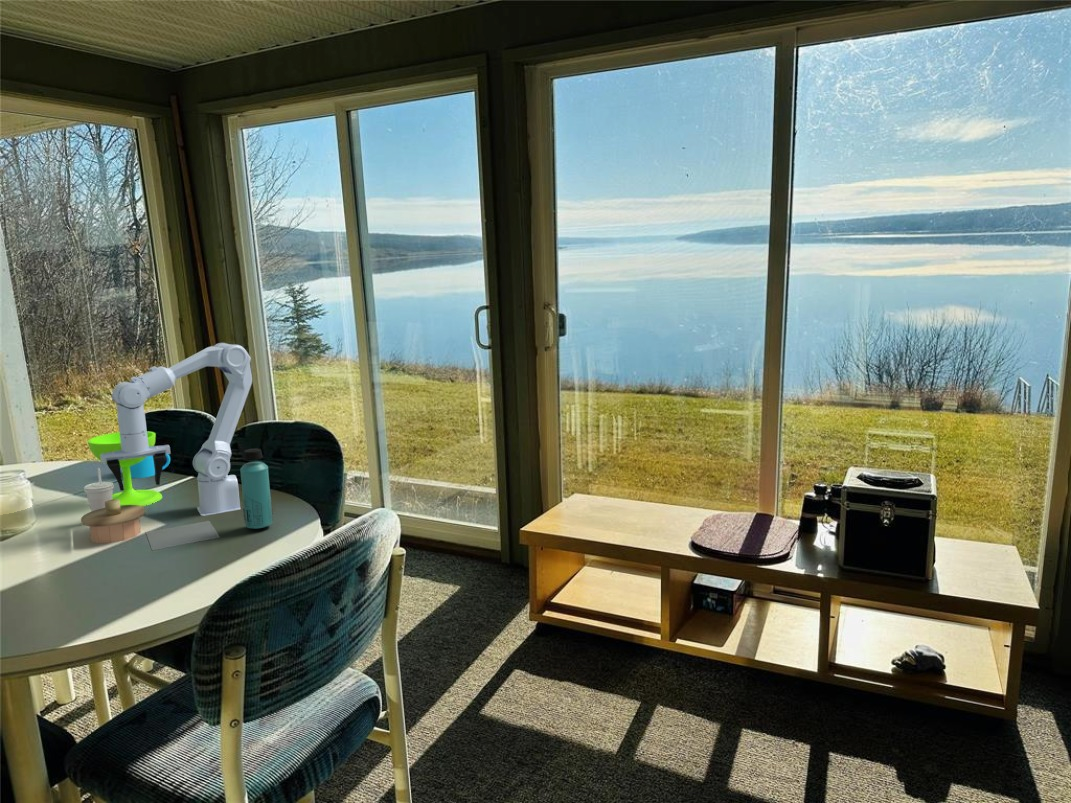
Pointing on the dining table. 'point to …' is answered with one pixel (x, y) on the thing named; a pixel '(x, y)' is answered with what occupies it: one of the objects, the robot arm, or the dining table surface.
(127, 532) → the bowl
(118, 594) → the dining table surface
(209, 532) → the mat
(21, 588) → the dining table surface
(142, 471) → the mug
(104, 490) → the smoothie
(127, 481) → the wineglass
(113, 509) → the lid
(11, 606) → the dining table surface
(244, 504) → the beverage bottle
